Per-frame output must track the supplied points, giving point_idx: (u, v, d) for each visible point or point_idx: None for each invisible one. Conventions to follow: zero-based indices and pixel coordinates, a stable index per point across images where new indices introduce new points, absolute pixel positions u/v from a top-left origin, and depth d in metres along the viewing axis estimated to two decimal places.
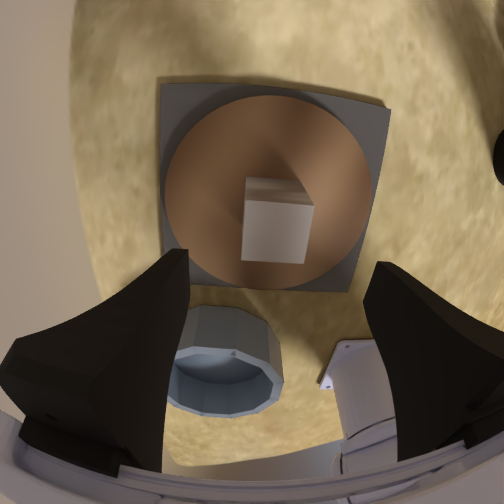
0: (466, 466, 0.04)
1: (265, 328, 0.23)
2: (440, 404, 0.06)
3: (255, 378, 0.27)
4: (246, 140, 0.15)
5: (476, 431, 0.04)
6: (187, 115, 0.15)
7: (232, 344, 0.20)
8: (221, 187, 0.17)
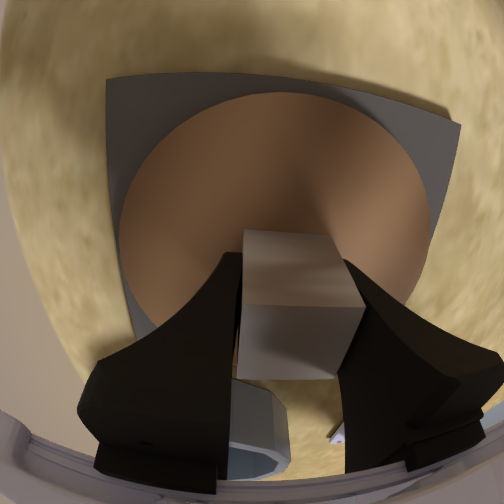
0: (466, 466, 0.04)
1: (269, 401, 0.17)
2: (381, 417, 0.05)
3: None
4: (244, 170, 0.09)
5: (417, 453, 0.04)
6: (147, 127, 0.09)
7: None
8: (204, 245, 0.11)
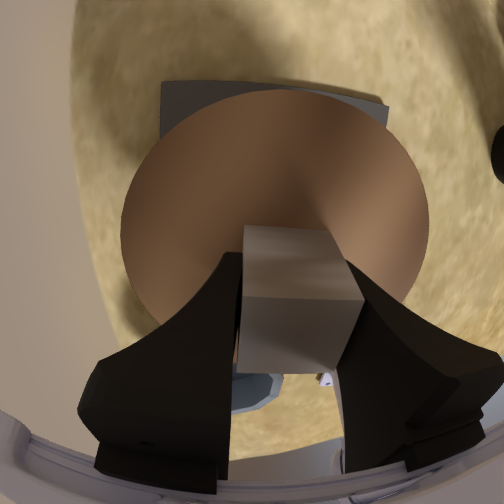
0: (466, 466, 0.04)
1: None
2: (381, 417, 0.05)
3: (255, 375, 0.27)
4: (244, 166, 0.09)
5: (417, 454, 0.04)
6: (187, 112, 0.15)
7: None
8: (205, 241, 0.11)
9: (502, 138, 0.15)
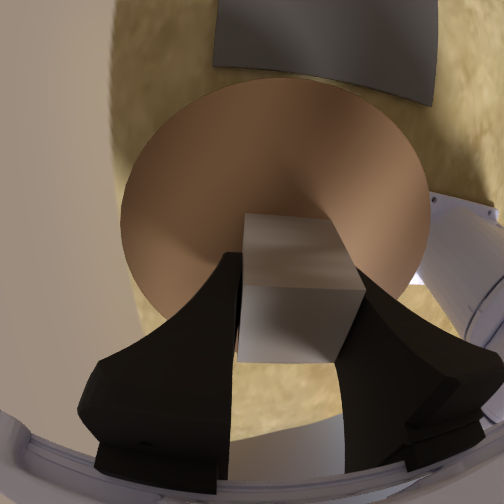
0: (466, 466, 0.04)
1: None
2: (381, 417, 0.05)
3: None
4: (245, 154, 0.09)
5: (417, 454, 0.04)
6: None
7: None
8: (205, 229, 0.11)
9: None
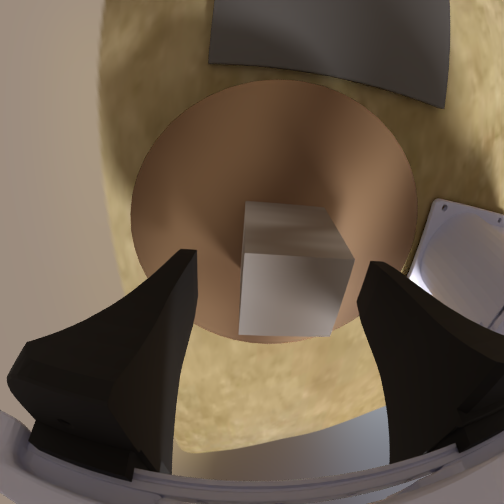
0: (466, 466, 0.04)
1: None
2: (432, 406, 0.06)
3: None
4: (246, 147, 0.10)
5: (468, 435, 0.04)
6: None
7: None
8: (209, 216, 0.12)
9: None
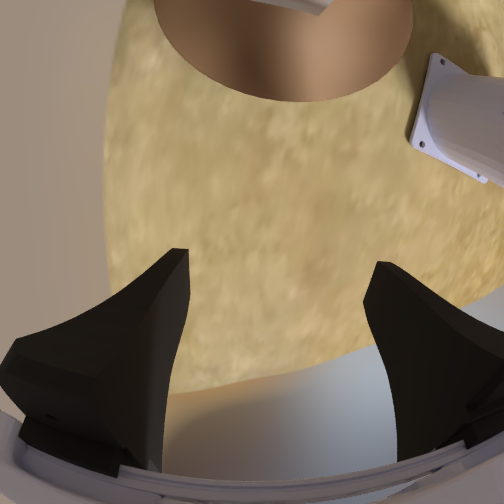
0: (466, 466, 0.04)
1: None
2: (440, 404, 0.06)
3: None
4: None
5: (476, 431, 0.04)
6: None
7: None
8: None
9: None
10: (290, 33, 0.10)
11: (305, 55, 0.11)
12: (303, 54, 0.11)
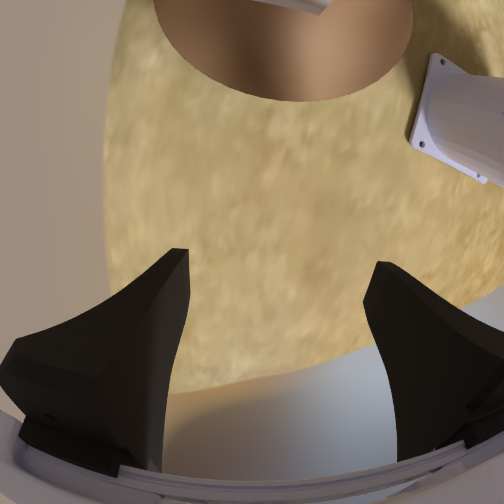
0: (466, 466, 0.04)
1: None
2: (440, 404, 0.06)
3: None
4: None
5: (476, 431, 0.04)
6: None
7: None
8: None
9: None
10: (290, 33, 0.10)
11: (305, 54, 0.11)
12: (303, 54, 0.11)
